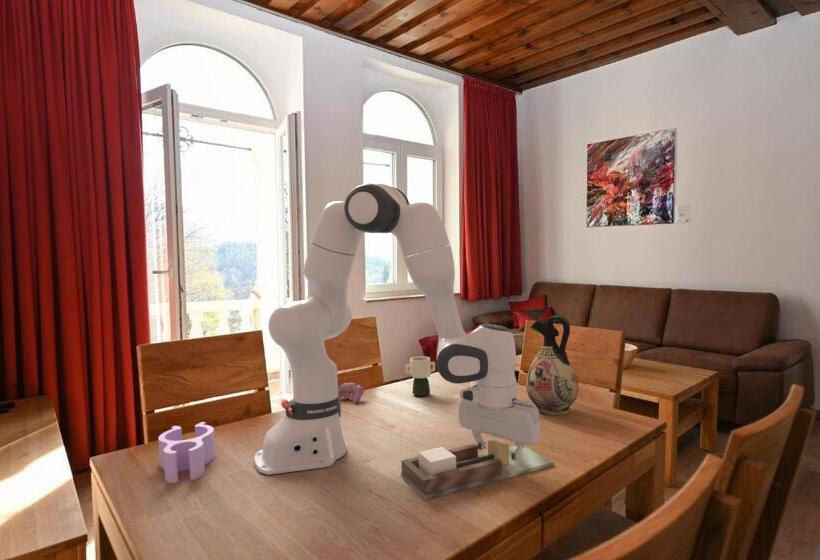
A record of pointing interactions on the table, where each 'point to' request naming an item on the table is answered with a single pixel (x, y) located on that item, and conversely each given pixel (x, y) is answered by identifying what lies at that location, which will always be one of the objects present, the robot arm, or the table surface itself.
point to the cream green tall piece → (420, 374)
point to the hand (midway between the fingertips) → (498, 454)
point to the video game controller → (351, 387)
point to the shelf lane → (469, 471)
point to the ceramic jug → (552, 371)
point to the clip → (186, 451)
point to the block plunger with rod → (446, 461)
